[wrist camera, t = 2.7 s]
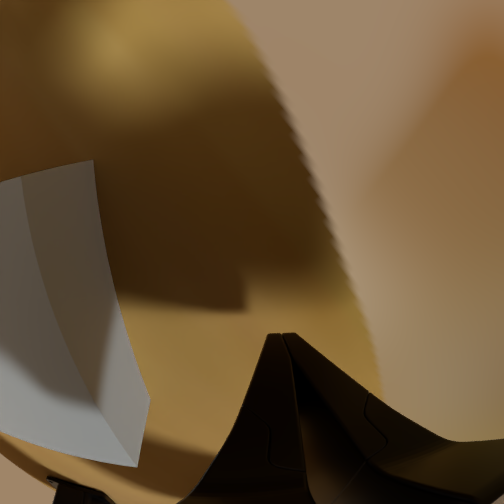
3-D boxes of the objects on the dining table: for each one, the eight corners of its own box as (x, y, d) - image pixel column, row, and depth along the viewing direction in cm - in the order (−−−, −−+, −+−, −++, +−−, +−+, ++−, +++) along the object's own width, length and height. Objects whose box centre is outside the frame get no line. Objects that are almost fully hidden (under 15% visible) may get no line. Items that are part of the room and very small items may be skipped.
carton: (151, 394, 12) (137, 467, 8) (12, 375, 11) (-17, 423, 7) (97, 158, 8) (20, 176, 4) (-51, 199, 7) (-109, 226, 4)
